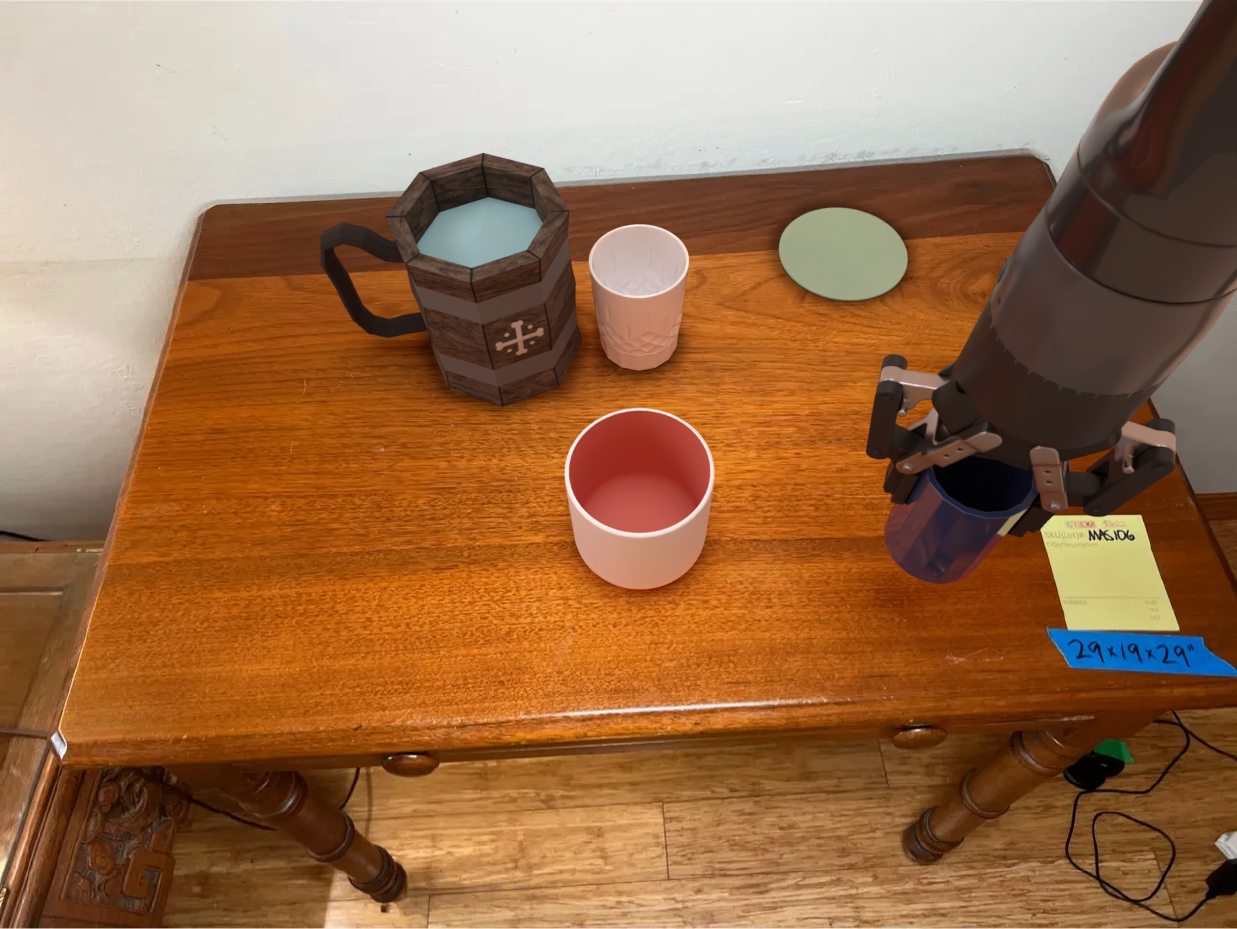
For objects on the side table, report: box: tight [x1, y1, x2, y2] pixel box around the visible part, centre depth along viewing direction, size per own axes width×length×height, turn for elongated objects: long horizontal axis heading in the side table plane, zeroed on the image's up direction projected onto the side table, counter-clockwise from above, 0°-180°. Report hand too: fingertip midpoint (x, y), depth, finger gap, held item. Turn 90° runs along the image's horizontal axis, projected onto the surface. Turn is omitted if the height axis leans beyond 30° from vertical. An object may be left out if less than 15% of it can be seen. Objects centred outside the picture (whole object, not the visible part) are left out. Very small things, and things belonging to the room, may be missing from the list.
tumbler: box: [883, 456, 1039, 585], centre depth 48 cm, size 6×6×9 cm
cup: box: [564, 407, 716, 590], centre depth 58 cm, size 10×10×10 cm
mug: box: [319, 152, 583, 408], centre depth 66 cm, size 20×14×15 cm
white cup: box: [588, 223, 690, 372], centre depth 68 cm, size 8×8×10 cm
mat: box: [778, 207, 909, 302], centre depth 77 cm, size 12×12×1 cm
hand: (956, 506), depth 47 cm, fingers closed on tumbler, 6 cm apart
